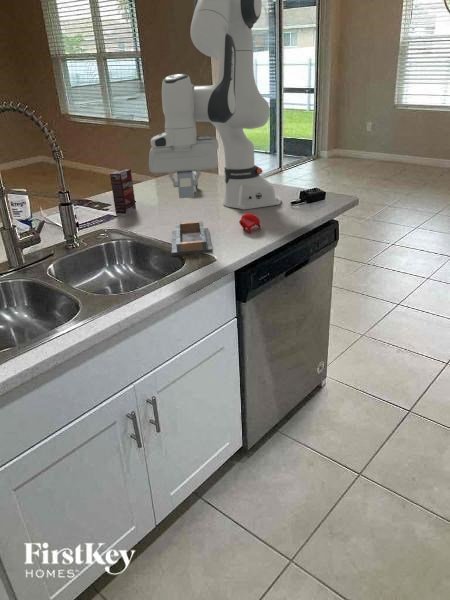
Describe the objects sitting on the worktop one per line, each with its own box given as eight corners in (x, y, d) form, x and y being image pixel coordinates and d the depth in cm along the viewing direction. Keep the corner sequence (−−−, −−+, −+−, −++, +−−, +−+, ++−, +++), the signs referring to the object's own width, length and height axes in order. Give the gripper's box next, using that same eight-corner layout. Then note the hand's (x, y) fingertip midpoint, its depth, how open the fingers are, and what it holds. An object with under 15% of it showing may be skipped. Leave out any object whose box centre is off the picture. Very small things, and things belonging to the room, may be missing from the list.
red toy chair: (245, 226, 150) (260, 214, 150) (234, 216, 153) (248, 204, 153) (252, 240, 156) (266, 228, 157) (242, 230, 160) (255, 219, 160)
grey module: (193, 191, 145) (191, 168, 142) (194, 197, 138) (192, 173, 135) (179, 192, 145) (177, 169, 141) (179, 198, 138) (177, 174, 135)
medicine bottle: (196, 192, 205) (194, 164, 199) (180, 193, 205) (177, 165, 200) (197, 188, 211) (195, 160, 206) (181, 189, 211) (179, 161, 206)
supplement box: (127, 216, 178) (120, 173, 171) (115, 215, 180) (108, 173, 173) (137, 209, 186) (131, 168, 178) (126, 209, 187) (119, 168, 180)
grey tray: (208, 230, 158) (207, 220, 156) (212, 252, 140) (211, 241, 138) (172, 233, 157) (171, 223, 156) (172, 255, 139) (170, 244, 138)
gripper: (216, 133, 137) (219, 181, 144) (146, 138, 136) (152, 186, 143) (218, 136, 132) (221, 185, 138) (145, 141, 131) (151, 191, 137)
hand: (185, 186), depth 140 cm, fingers closed on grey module, 4 cm apart
